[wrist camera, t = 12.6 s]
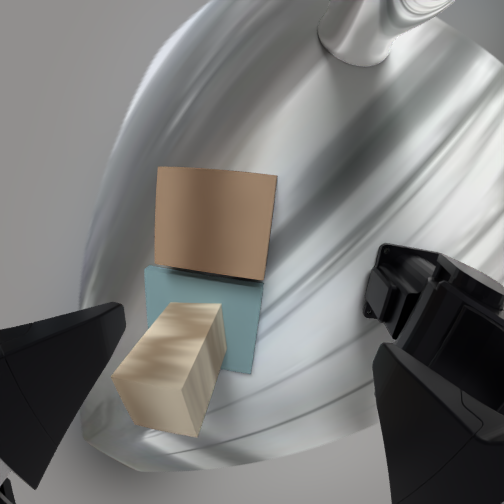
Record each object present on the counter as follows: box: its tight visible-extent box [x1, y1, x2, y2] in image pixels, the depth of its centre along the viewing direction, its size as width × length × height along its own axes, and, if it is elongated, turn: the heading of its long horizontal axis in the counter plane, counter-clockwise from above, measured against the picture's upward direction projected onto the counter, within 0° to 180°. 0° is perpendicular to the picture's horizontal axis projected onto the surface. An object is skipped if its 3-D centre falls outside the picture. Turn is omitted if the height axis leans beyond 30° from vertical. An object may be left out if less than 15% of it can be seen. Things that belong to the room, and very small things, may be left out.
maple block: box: [111, 302, 227, 437], centre depth 18 cm, size 4×4×10 cm
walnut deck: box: [155, 167, 277, 280], centre depth 19 cm, size 8×7×3 cm
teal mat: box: [144, 265, 264, 374], centre depth 23 cm, size 10×9×1 cm
